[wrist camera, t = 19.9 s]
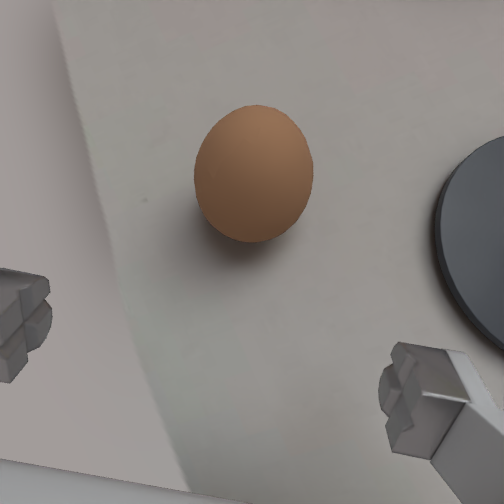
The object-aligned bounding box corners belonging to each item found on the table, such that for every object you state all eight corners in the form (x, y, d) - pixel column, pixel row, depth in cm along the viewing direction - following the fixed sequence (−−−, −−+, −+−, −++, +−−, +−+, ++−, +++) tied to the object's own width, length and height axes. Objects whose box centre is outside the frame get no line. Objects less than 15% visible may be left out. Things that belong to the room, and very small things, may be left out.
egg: (310, 244, 21) (356, 174, 14) (214, 271, 21) (208, 213, 13) (279, 158, 23) (306, 51, 15) (188, 180, 22) (169, 80, 14)
